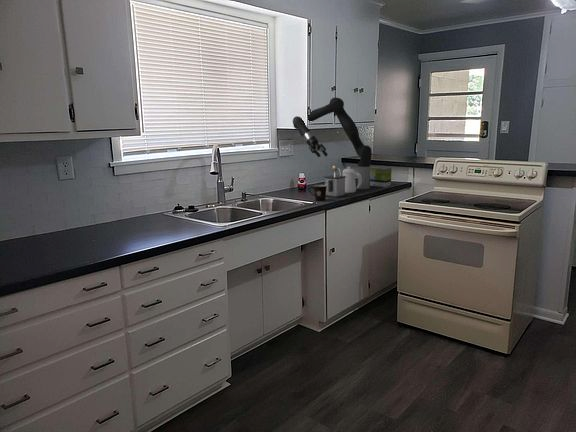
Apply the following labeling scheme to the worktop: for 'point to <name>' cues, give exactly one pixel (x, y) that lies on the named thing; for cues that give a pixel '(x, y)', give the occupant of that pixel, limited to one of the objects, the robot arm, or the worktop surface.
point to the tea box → (380, 176)
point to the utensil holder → (335, 186)
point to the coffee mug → (319, 192)
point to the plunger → (335, 170)
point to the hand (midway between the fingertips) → (323, 156)
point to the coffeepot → (350, 180)
